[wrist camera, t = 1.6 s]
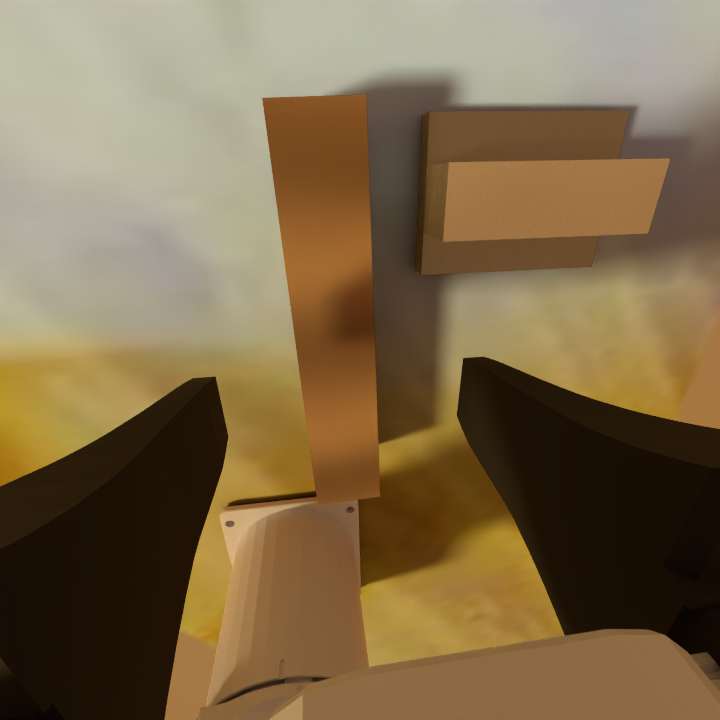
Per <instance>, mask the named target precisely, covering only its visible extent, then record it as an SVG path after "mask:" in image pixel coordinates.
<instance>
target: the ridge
mask: <svg viewBox="0 0 720 720" xmlns="http://www.w3.org/2000/svg"><path fill="white" fill-rule="evenodd" d="M629 113H630V111H429V112H427V113H426V114H424V115H422V132H421V154H420V176H419V199H418V221H417V244H416V266H415V270H416V271H417V272H418V273H419V274H421V275H433V274H453V273H473V272H493V271H513V270H533V269H554V268H574V267H591V266H592V262H593V258H594V254H595V250H596V246H597V242H598V238H599V235H623V234H648V232H649V228H650V225H651V222H652V218H653V215H654V212H655V208H656V205H657V202H658V198H659V195H660V192H661V189H662V185H663V182H664V179H665V175H666V172H667V169H668V165H669V162H670V159H671V158H667V159H618V157H619V153H620V149H621V145H622V141H623V137H624V133H625V129H626V125H627V121H628V117H629Z"/></svg>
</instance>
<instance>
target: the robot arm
mask: <svg viewBox="0 0 720 720" xmlns="http://www.w3.org/2000/svg"><path fill="white" fill-rule="evenodd" d="M457 417H458V420H459V422H460V425H461V427H462V430H463V432H464V434H465V436H466V439H467V441H468V443H469V445H470V446H471V448H472V450H473V452H474V453H475V455H476V457H477V458H478V460H479V462H480V463H481V465H482V466H483V468H484V470H485V471H486V473H487V475H488V476H489V478H490V479H491V481H492V483H493V484H494V486H495V487H496V489H497V491H498V492H499V494H500V496H501V497H502V499H503V500H504V502H505V504H506V506H507V507H508V509H509V511H510V513H511V515H512V516H513V518H514V520H515V522H516V525H517V527H518V529H519V531H520V533H521V535H522V537H523V539H524V541H525V543H526V546H527V548H528V550H529V552H530V554H531V556H532V559H533V561H534V563H535V565H536V568H537V570H538V572H539V574H540V577H541V579H542V581H543V583H544V586H545V588H546V591H547V593H548V595H549V598H550V600H551V603H552V605H553V608H554V610H555V612H556V615H557V617H558V620H559V622H560V625H561V627H562V630H563V632H564V635H565V636H560V637H554V638H547V639H541V640H535V641H529V642H522V643H516V644H510V645H503V646H497V647H491V648H485V649H478V650H472V651H466V652H460V653H453V654H447V655H441V656H435V657H428V658H422V659H416V660H410V661H403V662H397V663H391V664H385V665H378V666H372V667H369V663H368V655H367V647H366V639H365V632H364V624H363V616H362V608H361V600H360V594H361V576H360V542H359V508H358V500H352V501H345V502H337V503H330V504H322V505H318V503H317V497H311V498H302V499H293V500H284V501H275V502H265V503H256V504H247V505H238V506H229V507H225V508H223V509H222V511H221V513H220V521H221V525H222V529H223V533H224V537H225V541H226V544H227V548H228V552H229V556H230V560H231V564H232V568H233V569H232V574H231V579H230V584H229V589H228V595H227V600H226V605H225V610H224V615H223V621H222V626H221V631H220V636H219V641H218V646H217V652H216V657H215V662H214V667H213V673H212V678H211V683H210V688H209V693H208V698H207V704H206V707H201V708H200V709H199V710H198V714H197V719H196V720H720V429H716V428H710V427H704V426H699V425H693V424H688V423H683V422H678V421H674V420H669V419H665V418H661V417H656V416H652V415H648V414H643V413H639V412H636V411H632V410H628V409H624V408H621V407H618V406H614V405H611V404H607V403H604V402H601V401H597V400H594V399H591V398H588V397H585V396H582V395H580V394H577V393H574V392H572V391H569V390H566V389H564V388H561V387H558V386H556V385H553V384H551V383H548V382H546V381H543V380H541V379H538V378H536V377H534V376H531V375H529V374H527V373H524V372H522V371H520V370H517V369H515V368H512V367H510V366H508V365H505V364H503V363H500V362H498V361H495V360H492V359H489V358H486V357H474V358H463V366H462V374H461V383H460V392H459V401H458V410H457ZM227 441H228V433H227V428H226V424H225V419H224V414H223V410H222V405H221V400H220V396H219V391H218V386H217V382H216V377H205V378H193V379H191V380H189V381H187V382H185V383H184V384H182V385H181V386H179V387H178V388H176V389H175V390H173V391H172V392H170V393H169V394H167V395H166V396H164V397H163V398H161V399H160V400H158V401H157V402H156V403H154V404H153V405H151V406H150V407H148V408H147V409H145V410H144V411H142V412H141V413H139V414H138V415H136V416H135V417H133V418H131V419H130V420H128V421H127V422H125V423H123V424H122V425H120V426H119V427H117V428H115V429H114V430H112V431H111V432H109V433H108V434H106V435H104V436H102V437H101V438H99V439H97V440H96V441H94V442H92V443H90V444H88V445H87V446H85V447H83V448H81V449H79V450H77V451H75V452H73V453H71V454H69V455H68V456H66V457H64V458H62V459H60V460H58V461H56V462H54V463H52V464H49V465H47V466H45V467H43V468H41V469H38V470H36V471H34V472H32V473H29V474H27V475H25V476H23V477H21V478H18V479H16V480H14V481H12V482H10V483H7V484H5V485H3V486H1V487H0V720H164V718H165V711H166V705H167V698H168V692H169V686H170V680H171V674H172V668H173V663H174V657H175V651H176V645H177V640H178V635H179V629H180V624H181V619H182V614H183V609H184V604H185V598H186V594H187V589H188V584H189V580H190V575H191V570H192V566H193V561H194V557H195V553H196V549H197V546H198V542H199V539H200V536H201V533H202V530H203V527H204V524H205V521H206V518H207V515H208V512H209V509H210V506H211V503H212V499H213V496H214V493H215V490H216V487H217V484H218V481H219V478H220V475H221V472H222V468H223V464H224V459H225V453H226V447H227ZM348 507H352V508H348ZM230 521H232V522H230Z"/></svg>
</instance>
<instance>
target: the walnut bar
mask: <svg viewBox="0 0 720 720" xmlns="http://www.w3.org/2000/svg"><path fill="white" fill-rule="evenodd" d="M262 99H263V106H264V113H265V121H266V128H267V136H268V143H269V150H270V158H271V165H272V172H273V180H274V187H275V194H276V202H277V209H278V216H279V224H280V231H281V238H282V246H283V253H284V261H285V268H286V275H287V283H288V290H289V297H290V305H291V312H292V319H293V327H294V334H295V341H296V349H297V356H298V363H299V371H300V378H301V385H302V393H303V400H304V408H305V415H306V422H307V430H308V437H309V444H310V452H311V459H312V466H313V474H314V481H315V488H316V496H317V503H318V505H322V504H330V503H337V502H345V501H352V500H360V499H367V498H375V497H380V476H379V447H378V418H377V390H376V361H375V332H374V303H373V274H372V245H371V217H370V188H369V159H368V130H367V101H366V95H337V96H308V97H279V98H262Z"/></svg>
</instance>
